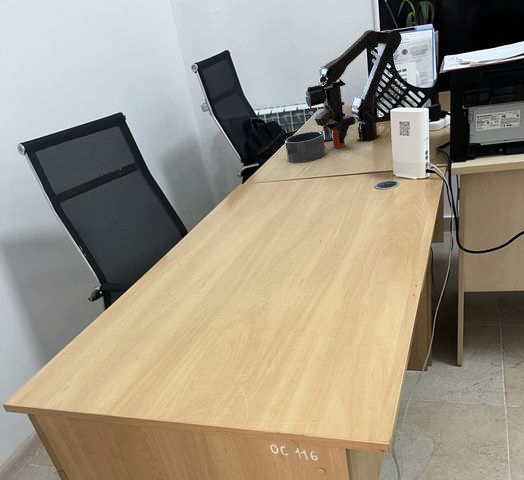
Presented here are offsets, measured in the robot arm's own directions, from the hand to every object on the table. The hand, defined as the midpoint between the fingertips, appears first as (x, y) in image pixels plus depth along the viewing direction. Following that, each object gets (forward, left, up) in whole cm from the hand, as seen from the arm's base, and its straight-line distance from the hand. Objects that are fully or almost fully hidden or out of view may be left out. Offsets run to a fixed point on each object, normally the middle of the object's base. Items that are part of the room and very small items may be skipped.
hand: (338, 142), depth 215 cm
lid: (+15, -12, -1) cm, 19 cm away
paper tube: (+23, -28, -2) cm, 37 cm away
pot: (+6, +14, -2) cm, 15 cm away
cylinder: (0, 0, -2) cm, 2 cm away
